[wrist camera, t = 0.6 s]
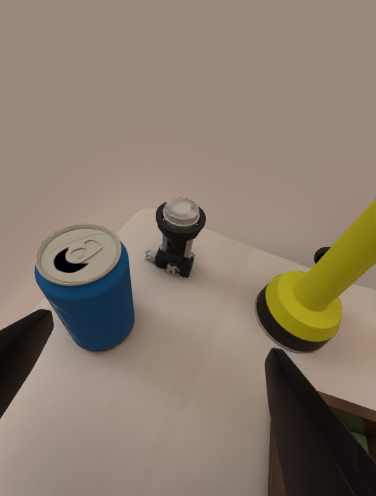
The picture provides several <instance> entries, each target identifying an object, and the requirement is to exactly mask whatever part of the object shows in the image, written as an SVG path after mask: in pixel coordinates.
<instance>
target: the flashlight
mask: <svg viewBox="0 0 376 496" xmlns="http://www.w3.org/2000/svg"><path fill="white" fill-rule="evenodd" d="M314 261H315V263H316V264H315V265H314V266H313V267H312V268H311V269H310V271H309V272H308V273H307V272H303V271H291V272H288V273H285V274H282V275H279V276H276V277H275V278H273V279H272V280H271V281H270V282H269V283H268V284H267V285H266V286H265V288H264V289H263V290H262V291H261V292H260V293H259V294H258V296H257V298H256V302H255V312H256V317H257V320H258V322H259V324H260V326H261V328H262V329H263V331H264V332H265V333H266V334H267V336H268V337H269V338H270V339H271V340H273V341H274V342H275V343H276V344H278V345H279V346H281V347H282V348H284V349H287V350H289V351H291V352H295V353H309V352H314V351H317V350H319V349H320V348H321V347H322V346H323V345H324V344H325V343H326V342H328V341H329V340H330V339H331V338H332V337H333V336H334V335H335V334H336V333H337V331H338V329H339V326H340V321H341V317H342V306H341V302H340V300H339V298H338V296H339V295H340V294H342V293H343V292H344V291H345V290H346V289H347V288H348V287H349V286H351V285H352V284H353V283H354V282H355V281H356V280H357V279H358V278H359V277H361V276H362V275H363V274H364V273H365V272H366V271H367V270H368V269H369V268H371V267H372V266H373V265H374V264H375V263H376V199H375V200H374V201H373V202H372V203H371V204H370V205H369V207H368V208H367V209H366V210H365V211H364V212H363V213H362V214H361V215H360V216H359V217H358V218H357V220H356V221H355V222H354V223H353V224H352V225H351V226H350V227H349V228H348V229H347V230H346V231H345V233H344V234H343V235H342V236H341V237H340V238H339V239H338V240H337V241H336V242H335V243H334V245H333V246H332V247H323V248H320V249H319V250H318V251H317V252H316V253H315V255H314Z"/></svg>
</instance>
